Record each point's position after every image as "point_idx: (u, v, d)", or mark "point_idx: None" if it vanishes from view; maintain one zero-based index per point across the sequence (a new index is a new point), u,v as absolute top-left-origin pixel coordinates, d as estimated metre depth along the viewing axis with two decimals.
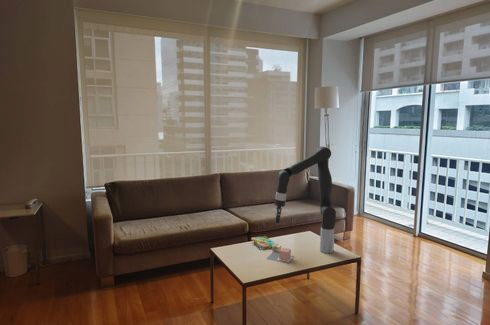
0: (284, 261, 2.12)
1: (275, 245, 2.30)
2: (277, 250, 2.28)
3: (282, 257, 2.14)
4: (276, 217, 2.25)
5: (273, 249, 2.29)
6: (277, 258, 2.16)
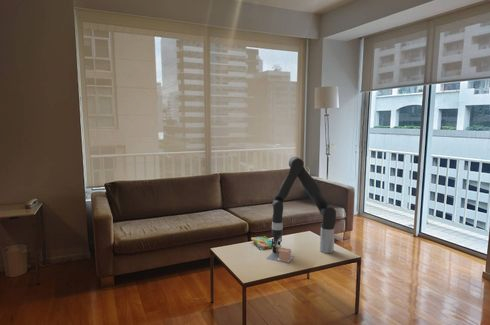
0: (284, 261, 2.12)
1: None
2: (277, 250, 2.28)
3: (282, 257, 2.14)
4: (272, 246, 2.26)
5: None
6: (277, 258, 2.16)
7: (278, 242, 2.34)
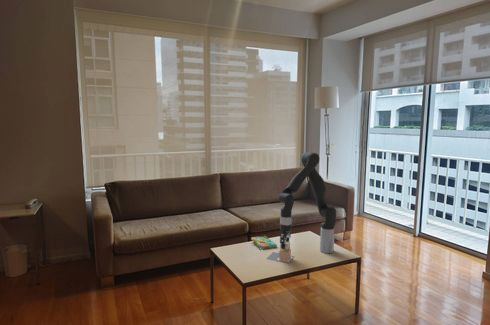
0: (284, 261, 2.12)
1: None
2: (286, 247, 2.13)
3: (282, 257, 2.14)
4: (281, 243, 2.11)
5: None
6: (277, 258, 2.16)
7: (287, 238, 2.19)
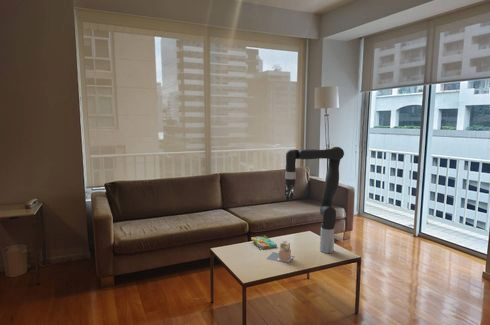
0: (284, 261, 2.12)
1: (283, 242, 2.15)
2: (286, 247, 2.13)
3: (282, 257, 2.14)
4: (286, 195, 2.30)
5: (281, 246, 2.14)
6: (277, 258, 2.16)
7: (291, 193, 2.37)
